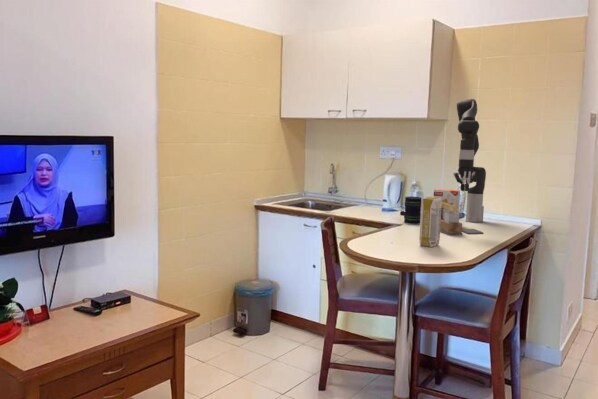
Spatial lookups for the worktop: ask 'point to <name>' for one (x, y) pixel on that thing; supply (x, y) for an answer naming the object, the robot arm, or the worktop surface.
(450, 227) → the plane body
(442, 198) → the cracker box
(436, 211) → the juice carton
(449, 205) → the lever
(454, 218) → the cap
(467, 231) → the mat
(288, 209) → the worktop surface
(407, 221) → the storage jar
